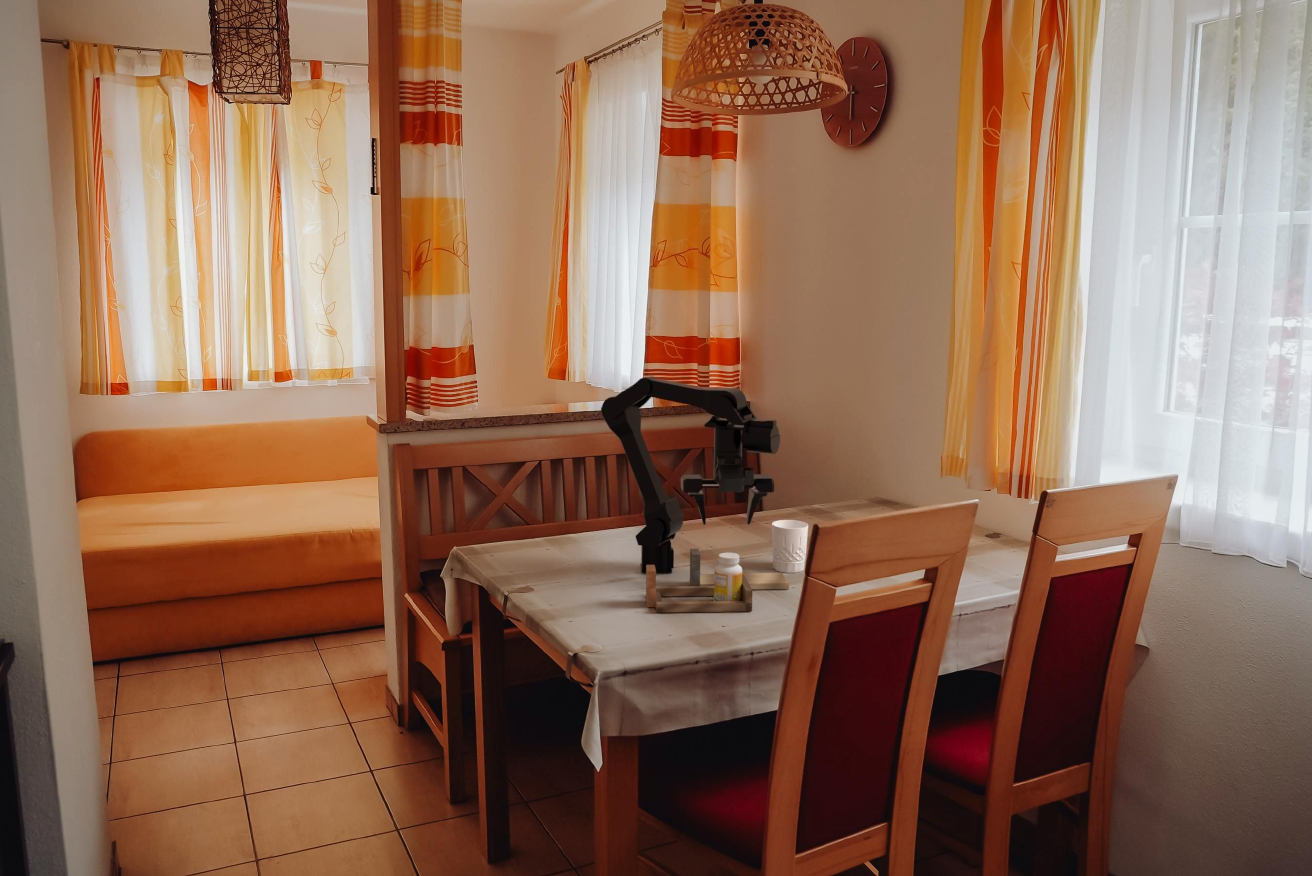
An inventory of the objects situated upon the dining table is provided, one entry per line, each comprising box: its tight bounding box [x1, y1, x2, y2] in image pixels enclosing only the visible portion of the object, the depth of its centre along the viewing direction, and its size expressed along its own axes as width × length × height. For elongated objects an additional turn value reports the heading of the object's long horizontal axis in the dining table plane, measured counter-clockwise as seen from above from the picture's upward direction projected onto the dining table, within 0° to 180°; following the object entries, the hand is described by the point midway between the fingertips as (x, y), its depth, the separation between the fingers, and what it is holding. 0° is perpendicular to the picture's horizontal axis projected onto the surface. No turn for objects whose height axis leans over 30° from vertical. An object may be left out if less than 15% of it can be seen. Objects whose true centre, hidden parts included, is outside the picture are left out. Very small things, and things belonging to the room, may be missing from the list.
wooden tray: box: [645, 565, 754, 613], centre depth 189 cm, size 20×11×7 cm, turn 94°
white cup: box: [771, 519, 809, 574], centre depth 213 cm, size 8×8×10 cm
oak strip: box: [689, 548, 790, 590], centre depth 201 cm, size 20×7×7 cm, turn 94°
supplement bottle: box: [713, 552, 743, 601], centre depth 189 cm, size 5×5×10 cm
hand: (726, 524), depth 203 cm, fingers open, 9 cm apart
